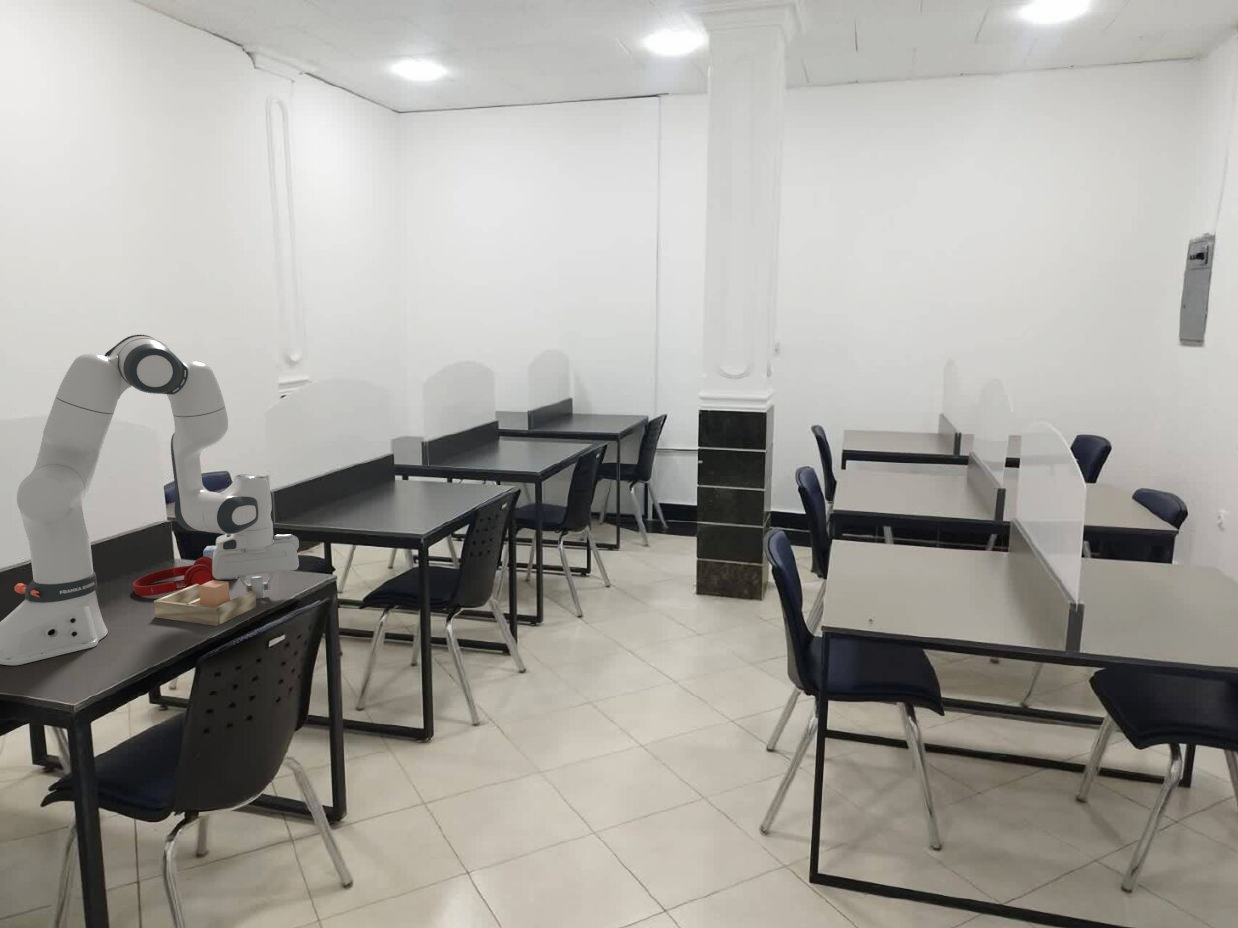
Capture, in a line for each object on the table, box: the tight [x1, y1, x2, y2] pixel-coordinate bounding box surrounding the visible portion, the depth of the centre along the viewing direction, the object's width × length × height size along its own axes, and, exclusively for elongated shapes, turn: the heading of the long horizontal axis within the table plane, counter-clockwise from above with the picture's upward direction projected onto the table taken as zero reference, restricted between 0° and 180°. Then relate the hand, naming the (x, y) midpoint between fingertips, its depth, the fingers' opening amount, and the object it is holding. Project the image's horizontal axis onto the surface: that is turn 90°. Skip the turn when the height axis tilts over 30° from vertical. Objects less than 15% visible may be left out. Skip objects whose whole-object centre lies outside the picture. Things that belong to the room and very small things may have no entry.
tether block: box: [199, 575, 264, 607], centre depth 212 cm, size 18×4×8 cm, turn 164°
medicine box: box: [202, 545, 239, 581], centre depth 233 cm, size 8×4×9 cm, turn 104°
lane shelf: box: [153, 584, 257, 627], centre depth 209 cm, size 14×18×4 cm
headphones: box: [132, 556, 217, 597], centre depth 225 cm, size 15×7×20 cm
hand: (257, 590), depth 220 cm, fingers open, 3 cm apart
